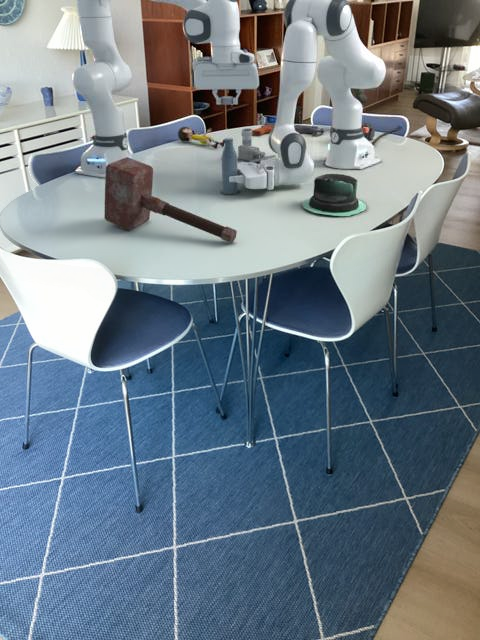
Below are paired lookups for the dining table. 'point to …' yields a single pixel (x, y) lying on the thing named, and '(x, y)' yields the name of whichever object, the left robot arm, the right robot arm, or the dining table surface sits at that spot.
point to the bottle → (229, 167)
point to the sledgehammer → (146, 200)
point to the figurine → (197, 137)
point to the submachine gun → (298, 128)
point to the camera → (250, 149)
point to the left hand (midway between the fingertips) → (227, 104)
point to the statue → (359, 95)
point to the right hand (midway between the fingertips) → (227, 176)
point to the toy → (369, 131)
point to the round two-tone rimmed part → (334, 196)
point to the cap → (226, 100)
